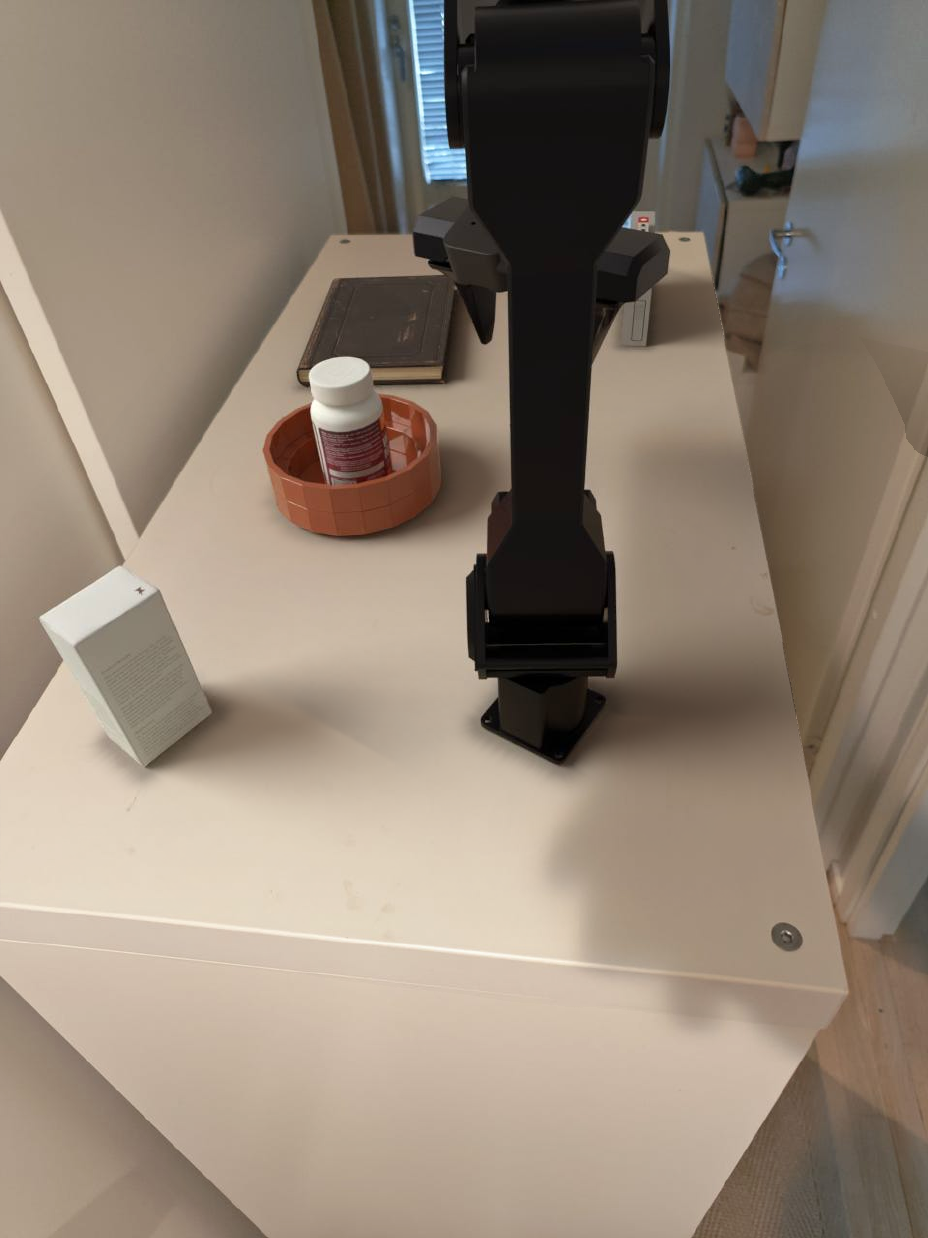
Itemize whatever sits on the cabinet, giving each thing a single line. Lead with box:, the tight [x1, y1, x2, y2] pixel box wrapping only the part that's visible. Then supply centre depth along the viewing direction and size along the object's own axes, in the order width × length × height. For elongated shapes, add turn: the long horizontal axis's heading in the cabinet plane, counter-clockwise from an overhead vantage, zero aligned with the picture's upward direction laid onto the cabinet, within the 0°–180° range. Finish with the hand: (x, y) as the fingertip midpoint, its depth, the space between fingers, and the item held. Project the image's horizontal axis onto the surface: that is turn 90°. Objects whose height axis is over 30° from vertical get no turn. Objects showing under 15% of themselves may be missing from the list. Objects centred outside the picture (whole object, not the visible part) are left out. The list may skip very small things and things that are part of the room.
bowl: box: [262, 393, 442, 537], centre depth 76 cm, size 15×15×6 cm
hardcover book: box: [295, 274, 459, 387], centre depth 99 cm, size 16×23×2 cm
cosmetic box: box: [38, 565, 213, 768], centre depth 55 cm, size 6×4×12 cm
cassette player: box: [621, 210, 656, 347], centre depth 97 cm, size 16×3×10 cm, turn 171°
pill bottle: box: [309, 357, 392, 485], centre depth 74 cm, size 6×6×11 cm
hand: (534, 355), depth 67 cm, fingers open, 9 cm apart
